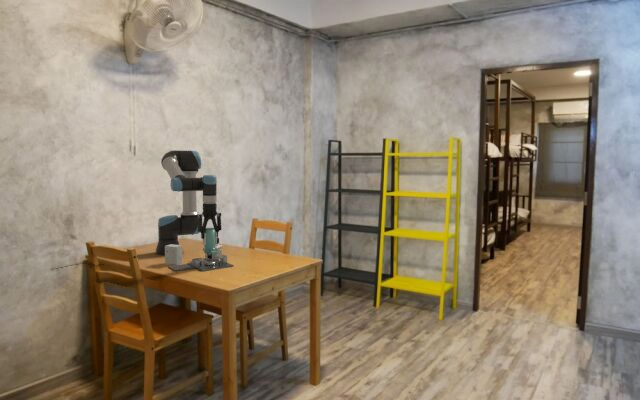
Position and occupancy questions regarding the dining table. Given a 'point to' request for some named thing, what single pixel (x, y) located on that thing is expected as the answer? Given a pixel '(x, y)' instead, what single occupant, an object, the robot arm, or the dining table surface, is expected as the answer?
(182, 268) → the mat
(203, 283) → the dining table surface
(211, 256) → the container
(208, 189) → the robot arm
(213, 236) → the teal tall rounded piece
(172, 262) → the small box
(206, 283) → the dining table surface
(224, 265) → the bayonet base
